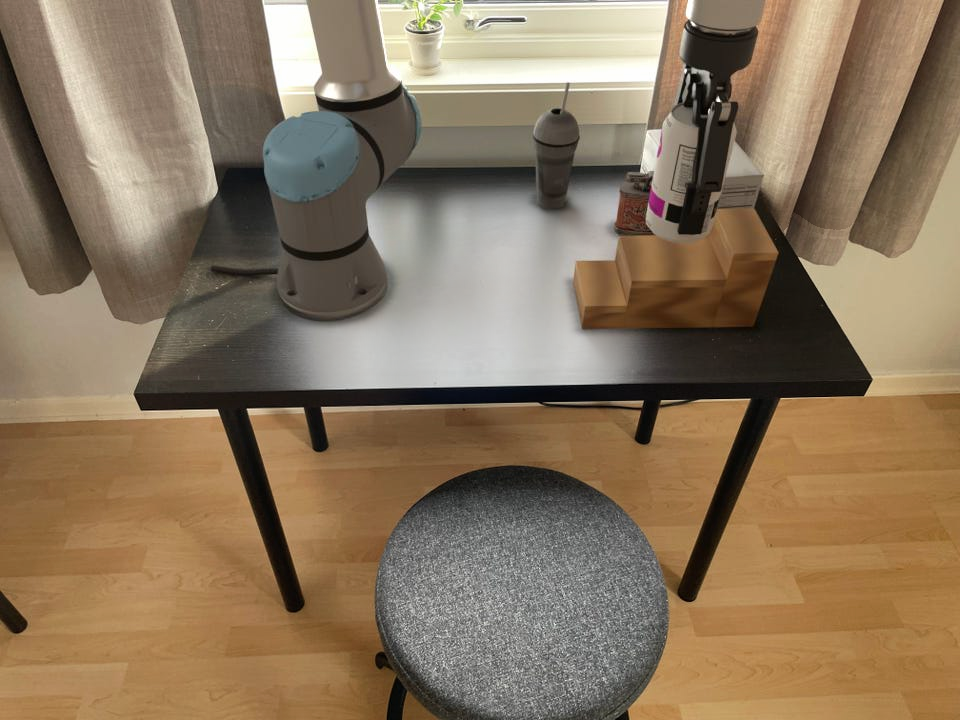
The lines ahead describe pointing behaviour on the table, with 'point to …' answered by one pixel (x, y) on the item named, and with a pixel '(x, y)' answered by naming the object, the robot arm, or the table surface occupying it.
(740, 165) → the supplement box
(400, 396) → the table surface
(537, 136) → the beverage cup
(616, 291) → the step shelf
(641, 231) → the lighter
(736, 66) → the robot arm
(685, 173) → the supplement can
